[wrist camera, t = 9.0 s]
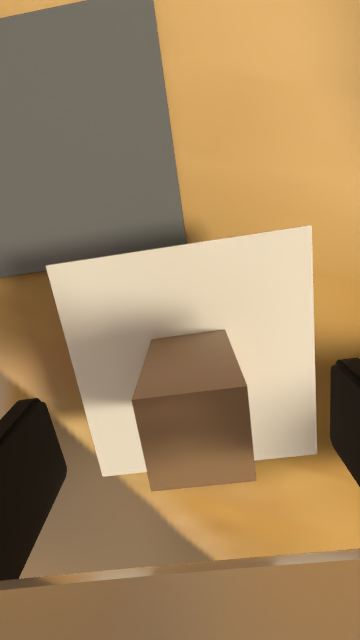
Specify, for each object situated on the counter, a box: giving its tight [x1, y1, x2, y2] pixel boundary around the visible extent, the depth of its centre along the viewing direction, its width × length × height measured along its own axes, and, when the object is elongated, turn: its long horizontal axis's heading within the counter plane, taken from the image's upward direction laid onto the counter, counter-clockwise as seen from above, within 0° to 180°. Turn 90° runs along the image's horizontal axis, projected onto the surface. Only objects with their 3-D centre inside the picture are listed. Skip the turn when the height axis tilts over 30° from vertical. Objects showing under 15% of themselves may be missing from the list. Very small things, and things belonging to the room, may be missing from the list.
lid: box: [46, 225, 317, 491], centre depth 13 cm, size 12×12×6 cm
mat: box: [0, 0, 187, 278], centre depth 17 cm, size 13×13×1 cm
